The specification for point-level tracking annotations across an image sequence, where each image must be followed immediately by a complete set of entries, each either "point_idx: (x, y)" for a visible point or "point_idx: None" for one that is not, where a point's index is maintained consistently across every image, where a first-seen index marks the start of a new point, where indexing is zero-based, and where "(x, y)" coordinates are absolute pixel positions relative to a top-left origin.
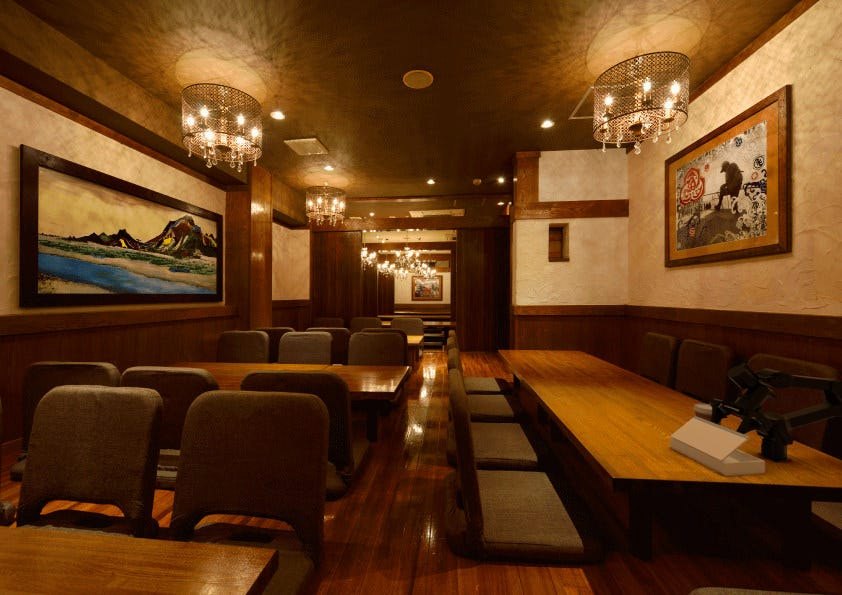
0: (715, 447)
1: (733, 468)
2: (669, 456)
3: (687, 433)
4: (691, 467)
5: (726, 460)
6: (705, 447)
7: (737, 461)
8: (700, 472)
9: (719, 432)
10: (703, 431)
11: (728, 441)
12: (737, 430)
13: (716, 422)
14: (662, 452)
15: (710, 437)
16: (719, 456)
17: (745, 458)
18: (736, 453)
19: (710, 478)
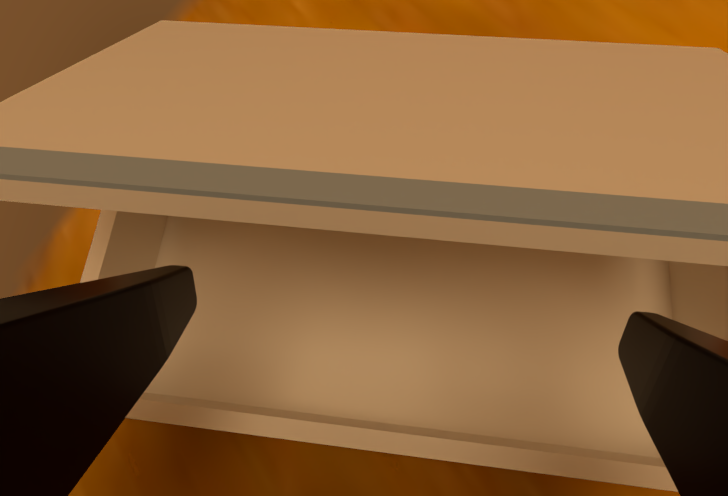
0: (254, 52)
1: None
2: (516, 20)
3: (631, 77)
4: (343, 22)
5: (344, 315)
6: (334, 41)
7: (305, 387)
8: (275, 19)
9: (323, 139)
10: (516, 113)
11: (155, 93)
12: (122, 280)
13: (677, 437)
14: (587, 24)
15: (371, 89)
16: (183, 27)
17: (238, 408)
18: (325, 419)
19: (203, 11)
